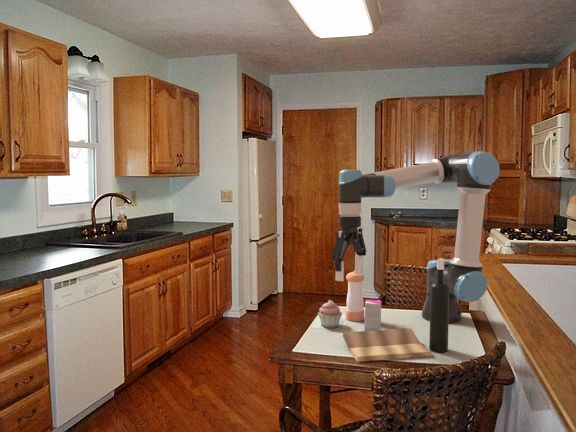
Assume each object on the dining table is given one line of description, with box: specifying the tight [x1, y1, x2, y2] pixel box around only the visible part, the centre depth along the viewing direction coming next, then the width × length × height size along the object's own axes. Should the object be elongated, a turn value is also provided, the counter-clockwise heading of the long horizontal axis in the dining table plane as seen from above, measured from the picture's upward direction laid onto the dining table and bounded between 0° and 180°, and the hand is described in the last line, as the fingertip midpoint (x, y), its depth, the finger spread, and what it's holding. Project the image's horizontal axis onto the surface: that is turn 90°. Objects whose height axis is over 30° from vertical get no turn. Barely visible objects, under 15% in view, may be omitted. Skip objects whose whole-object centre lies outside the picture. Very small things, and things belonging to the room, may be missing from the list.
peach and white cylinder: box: [345, 269, 365, 322], centre depth 202 cm, size 7×7×19 cm
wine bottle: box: [428, 257, 449, 354], centre depth 166 cm, size 6×6×30 cm
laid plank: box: [349, 342, 432, 363], centre depth 163 cm, size 24×8×2 cm, turn 100°
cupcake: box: [317, 299, 343, 329], centre depth 193 cm, size 9×9×10 cm
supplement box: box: [363, 299, 382, 331], centre depth 185 cm, size 6×6×12 cm
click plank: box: [342, 327, 421, 352], centre depth 171 cm, size 24×8×2 cm, turn 100°
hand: (349, 277), depth 176 cm, fingers open, 13 cm apart
